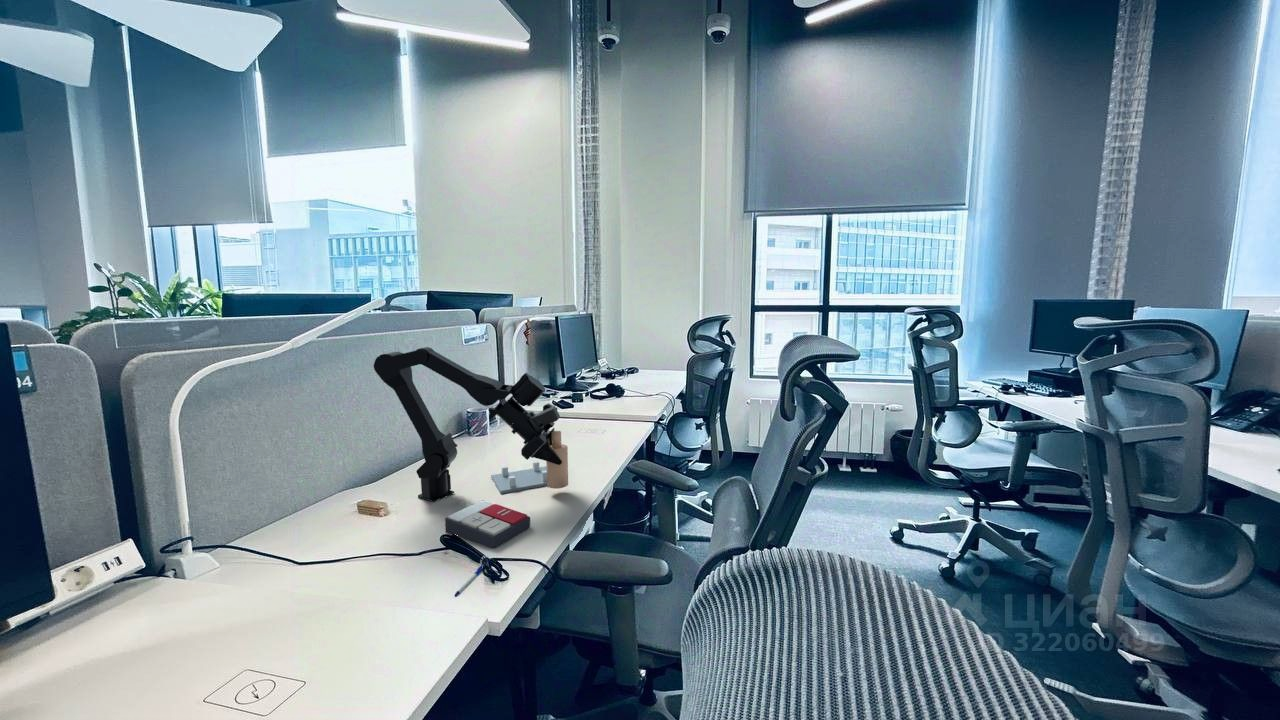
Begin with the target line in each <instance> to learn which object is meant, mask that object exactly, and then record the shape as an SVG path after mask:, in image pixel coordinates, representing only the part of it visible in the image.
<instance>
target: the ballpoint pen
mask: <svg viewBox="0 0 1280 720" xmlns="http://www.w3.org/2000/svg"><path fill="white" fill-rule="evenodd" d="M482 572H483V570H482V564H481V565H479V567H478V568H477V569H476V571H475V572H474V573H473V575H472V576H470V577H469V579H468V580H467V581H465V582H464V583H463V585H462V586H461V587H460V588H459V589H457V591H456V592H455V594H454V597H457V596H458V594H459V595H460V594H461V593H462V592H463V591H464V590H465V589H466V588H467V587H468V586H469V584H470V583H471V582H472V581H474V579H476V577H478V576H479V575H480V574H481V573H482ZM466 586H467V587H466ZM464 588H465V589H464Z"/></svg>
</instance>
